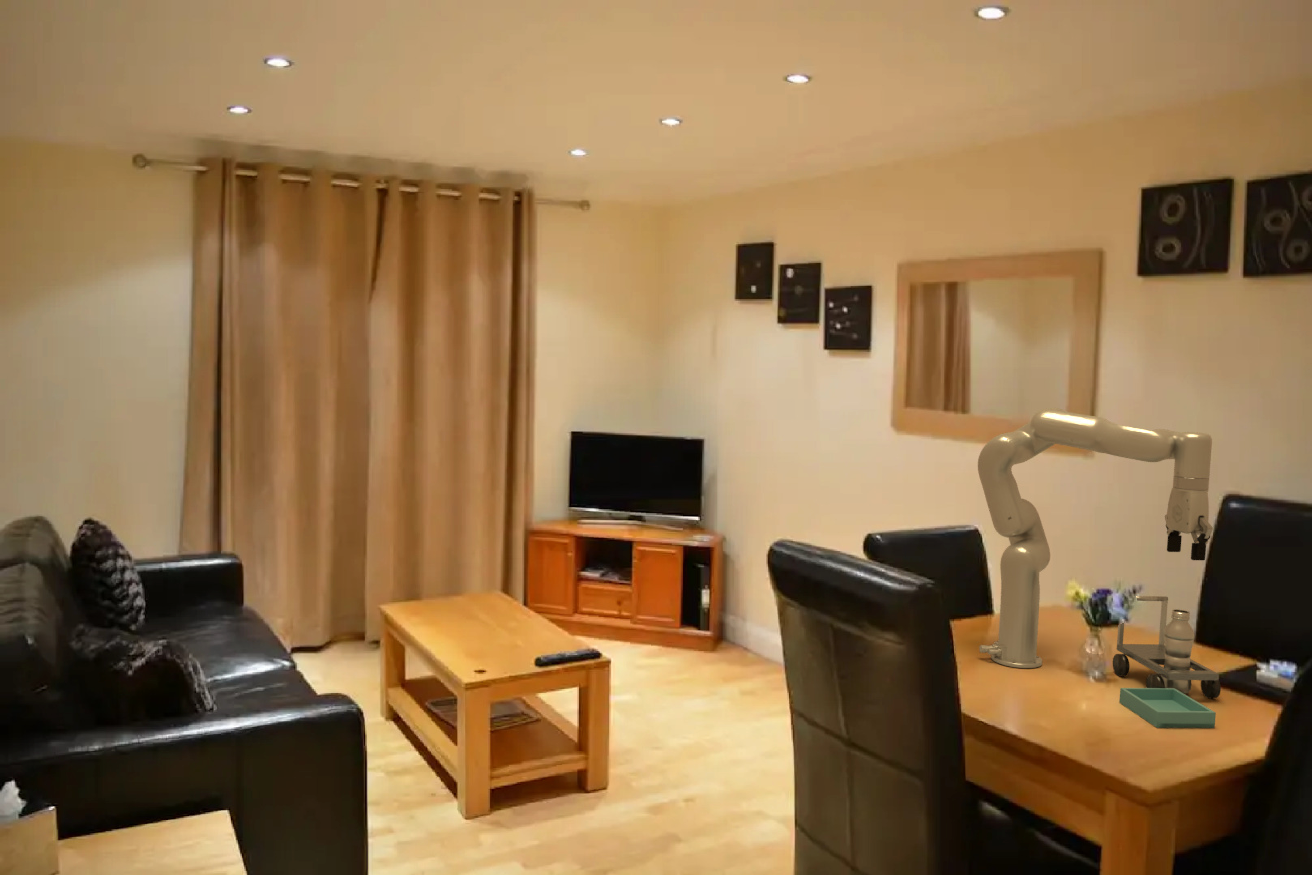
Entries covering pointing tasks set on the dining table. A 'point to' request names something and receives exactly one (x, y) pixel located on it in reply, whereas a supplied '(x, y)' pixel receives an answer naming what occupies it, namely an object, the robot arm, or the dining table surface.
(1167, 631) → the plastic bottle
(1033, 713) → the dining table surface
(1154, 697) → the tray
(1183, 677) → the trolley
